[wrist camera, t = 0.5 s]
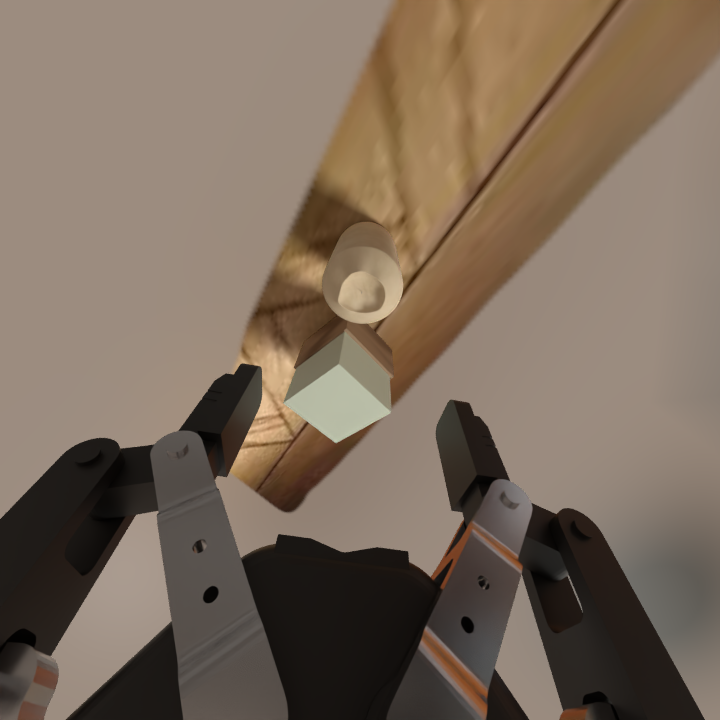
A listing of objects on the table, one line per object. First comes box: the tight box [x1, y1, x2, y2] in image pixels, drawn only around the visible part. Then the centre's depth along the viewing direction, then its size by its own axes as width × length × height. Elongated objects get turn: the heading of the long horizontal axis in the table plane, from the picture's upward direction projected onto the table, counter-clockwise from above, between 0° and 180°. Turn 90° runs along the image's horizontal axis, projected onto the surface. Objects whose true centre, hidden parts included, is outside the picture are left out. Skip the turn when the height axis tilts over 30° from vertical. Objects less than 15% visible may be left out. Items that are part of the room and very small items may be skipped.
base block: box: [294, 315, 394, 379], centre depth 31 cm, size 7×7×5 cm
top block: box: [283, 332, 391, 443], centre depth 27 cm, size 6×6×5 cm
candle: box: [322, 222, 403, 324], centre depth 23 cm, size 6×6×10 cm
